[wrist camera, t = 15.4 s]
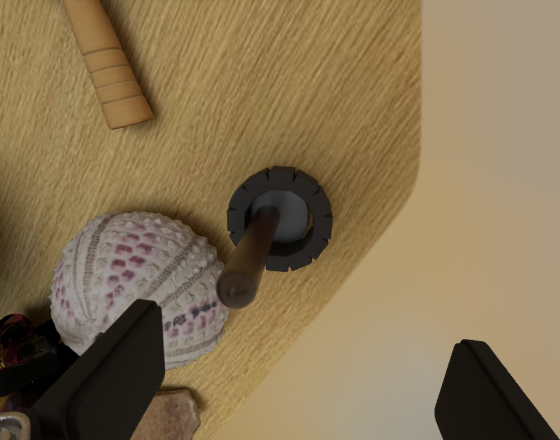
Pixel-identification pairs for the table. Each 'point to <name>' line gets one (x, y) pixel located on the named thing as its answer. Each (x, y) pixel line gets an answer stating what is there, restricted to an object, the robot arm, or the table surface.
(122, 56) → the kendama
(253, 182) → the ring
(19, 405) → the figurine
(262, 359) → the table surface
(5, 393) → the action figure
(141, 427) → the pottery shard
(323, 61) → the table surface
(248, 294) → the peg stand
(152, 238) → the sea urchin shell
